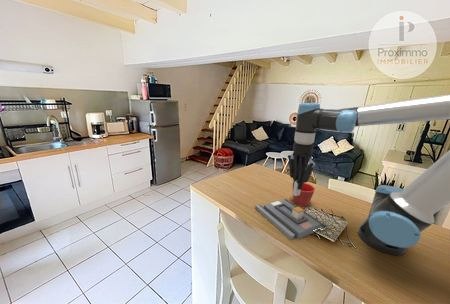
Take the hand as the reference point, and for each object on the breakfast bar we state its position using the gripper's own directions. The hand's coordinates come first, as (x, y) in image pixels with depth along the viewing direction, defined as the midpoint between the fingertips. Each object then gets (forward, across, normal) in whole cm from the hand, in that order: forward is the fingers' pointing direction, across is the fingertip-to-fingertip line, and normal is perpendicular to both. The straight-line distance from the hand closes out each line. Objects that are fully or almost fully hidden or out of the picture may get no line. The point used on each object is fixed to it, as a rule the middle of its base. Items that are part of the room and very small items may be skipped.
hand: (296, 194), depth 81 cm
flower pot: (+14, +10, -17) cm, 24 cm away
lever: (+11, -2, 0) cm, 11 cm away
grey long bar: (+14, +4, +9) cm, 17 cm away
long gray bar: (+14, +2, -8) cm, 16 cm away
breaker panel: (+14, +2, 0) cm, 14 cm away
